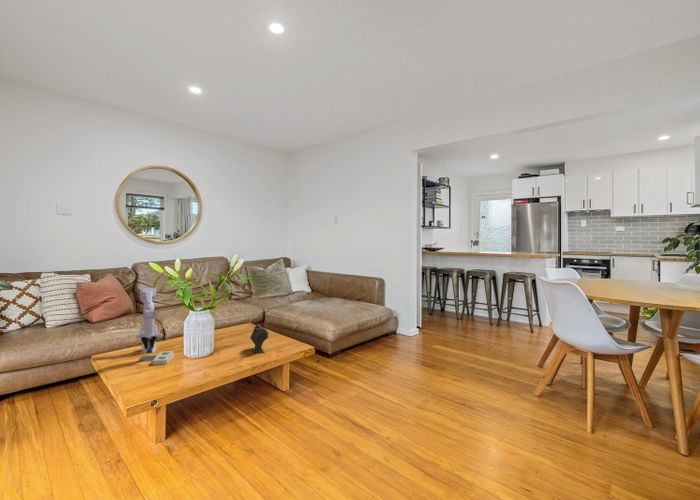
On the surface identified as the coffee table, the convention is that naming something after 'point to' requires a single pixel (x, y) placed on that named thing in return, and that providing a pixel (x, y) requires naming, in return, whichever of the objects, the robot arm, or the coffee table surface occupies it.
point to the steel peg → (149, 345)
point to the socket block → (163, 358)
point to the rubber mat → (146, 358)
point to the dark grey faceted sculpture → (259, 338)
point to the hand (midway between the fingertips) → (149, 348)
